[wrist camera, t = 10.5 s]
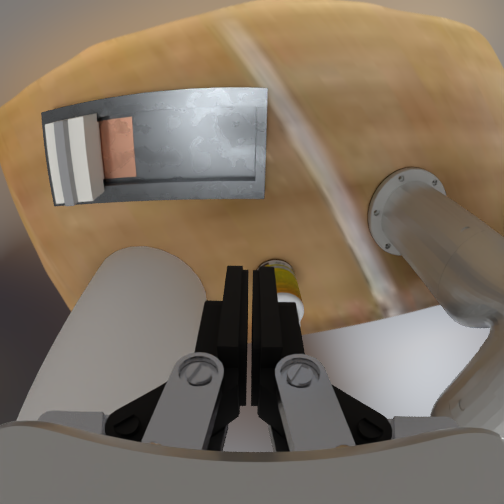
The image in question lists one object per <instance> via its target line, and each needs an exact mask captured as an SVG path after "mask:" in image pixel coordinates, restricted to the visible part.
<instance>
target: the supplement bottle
mask: <svg viewBox="0 0 504 504" xmlns="http://www.w3.org/2000/svg"><path fill="white" fill-rule="evenodd" d="M261 266H272V267H274V269H275V278H276V287H277V297H278V302H295V303H296V306H297V312H298V318H299V323H300V321H301V319H302V317H303V314H304V306H303V302H302V299H301V295H300V291H299V288H298V284H297V280H296V276H295V273H294V270H293V268H292V267H291V266H290V265H289V264H288V263H286V262H284V261H280V260H271V261H268V262H265V263H263V264H262V265H261ZM257 270H259V268H258V269H257Z"/></svg>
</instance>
